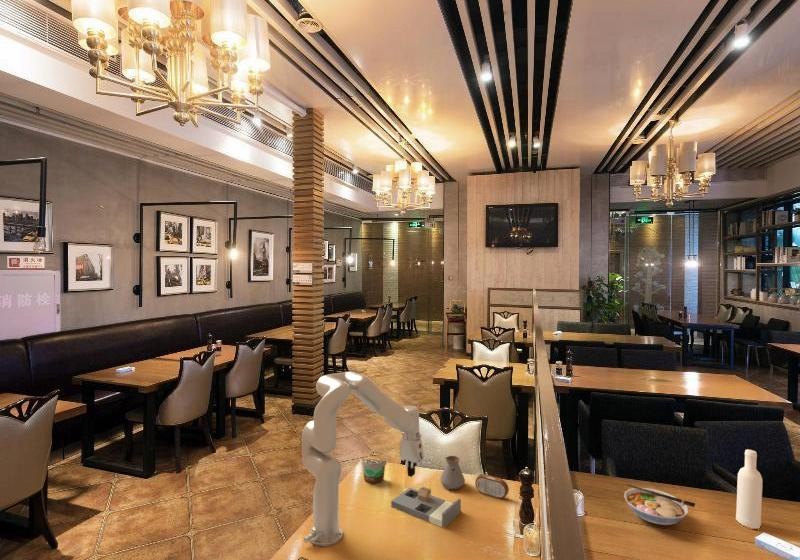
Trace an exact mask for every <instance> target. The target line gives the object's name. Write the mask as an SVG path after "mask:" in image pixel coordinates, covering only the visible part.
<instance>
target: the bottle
mask: <svg viewBox="0 0 800 560" xmlns="http://www.w3.org/2000/svg"><path fill="white" fill-rule="evenodd" d="M757 457H758V454H757V451H755V450H753V449H745V451H744V466H743V467H741V468H740V469H739V471H738V473H737V485H736V508H735V509H736V512H735V521H736V520H737V521H738V522H739V523H741V524H742V525H745V526H747V527H751V528H760V526H761V527H762V507H763V506H762V503H763V502H762V501H763V499H762V498H763V477H762V474H761V473H760V471H758V469H757ZM760 529H761V528H760Z"/></svg>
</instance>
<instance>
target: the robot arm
mask: <svg viewBox="0 0 800 560" xmlns="http://www.w3.org/2000/svg"><path fill="white" fill-rule="evenodd" d="M315 389H316V392H317V394H318V395H319V396H321V397H322V398H320V400H319V402H318V403H317V404H316V406H315V408H314V412H313V420H310V421H309V422H307V423H306V425H305V426H304V427H303V430H302V433H301V455H302V458H301V459H302V464H303V467H304V468H305V469H306V470H307V471H308V472H309V473H310V474H311V475H313V476H314V477H315V482H314V483H315V484H314V485H313V489H312V490H313V491H312V496H313V497H312V498H313V499H312V504H313V506H312V507H313V509H312V510H313V511H312V512H313V513H312V514H313V515H312V516H313V517H312V518H313V520H312V521H313V526H312V527H311V528H310V529H311V530H310V532H309V534H308V535H305V537H303V541H304V543H306V544H307V543H308V542H311V543H312V544H313V545H315V546H318V547H319V546H320V547H329V546H332V545H335V544H337V543H339V542H340V541H341V540H342V538H343V536H344V533H343V532H344V531H343V528H342V527H341V526H339V525H340V524H339V521H340V520H339V519H340V518H339V510H340V509H339V508H340V507H339V503H340V502H339V495H340V494H339V485H340V478H341V473H342V466H341V463H340V460H339V459H338V458H337V457H336V456H334V455H333V454H332V452H333V451H334V449H335V448H336V446H337V443H338V441H337V440H338V436H337V435H338V432H337V415H338V412H339V410H340V408H341V407H342V405H343V404H345V402H346V401H347V400H348V399H349V397H350V395H351V394H353V395H354V396H355V397H357V398H358V399H359V400H360V401H361V402H362V403H363V404H365V405H366V407H368V408H369V409H370V410H371V411H372V412H373V413H374V412H375V413H376V414H377V415H379V416H381V417H383V420H384V423H385V424H386V425H387V426H388V427H391V428H393V429H396V430H397V431H399V432H401V438H400V442H399V457H400V460H401V461H403V462H404V463H405V466H406V467H407V468H406V469H407V471H406V472H407V476H408V477H410V478H412V477H413V476H414V475H415V474H416V466H421V465H423V463H422V461H423V460H424V447H423V446H424V445H423V440H422V434H420V410H419V408H418V406H417V405H405V406H404V407H403V406H402V405H401V404H399V403H398V402H396V401H395V400H394V399H393V398H392V397H390V395H389V396H388V394H386V393H385V392H384V391H383V390H382V389H381V388H380V387H379V386H378V385H376V383H375V382H374V381H372V380H371V378H369V377H368V376H366V375H365V374H362V373H358V372H356V371H343V372H337V373H336V372H335V373H330V374H325V375H322V376H321V377H319V379H318V380H317V381H316V385H315Z"/></svg>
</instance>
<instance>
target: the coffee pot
mask: <svg viewBox="0 0 800 560" xmlns="http://www.w3.org/2000/svg"><path fill="white" fill-rule="evenodd" d="M444 460H446V465H445V467H444V469H443V472H442V473H441V475H440V477H439V479H440V483H441V484H442V486H444V487H445V488H446V487H447V488H446V489H448V490H452V489H455V490H459V489H461V487H463V486H464V484H465V483H466V482H465V480H466V479H465V477H464V474H463V472H462V469H461V467H460V465H459V461H460V460H461V459H460V457H458V456H455V455H449V456H446V457H445V458H444Z"/></svg>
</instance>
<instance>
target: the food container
mask: <svg viewBox="0 0 800 560" xmlns="http://www.w3.org/2000/svg"><path fill="white" fill-rule="evenodd" d="M386 465H387V460H386V458H385V459H384V460H378V459H364V458H363V457H362V459H361V466H362V468H363V469H362V471H363V478H364V479H363V480H364V481H365V483H368V484H371V485H375V484H380V483H382V482H383V481H384V479H385V470H386Z"/></svg>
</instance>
